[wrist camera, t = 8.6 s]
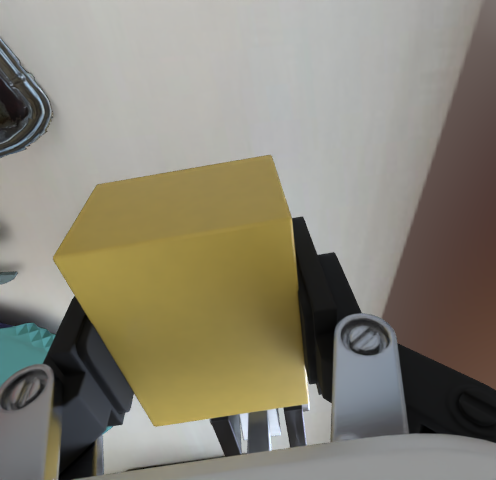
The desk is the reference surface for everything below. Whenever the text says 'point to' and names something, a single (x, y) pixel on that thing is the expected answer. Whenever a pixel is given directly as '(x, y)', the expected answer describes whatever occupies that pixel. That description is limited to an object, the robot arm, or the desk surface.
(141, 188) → the butter
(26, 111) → the chocolate cake
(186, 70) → the desk surface
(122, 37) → the desk surface
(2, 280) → the cutlery set
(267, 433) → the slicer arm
